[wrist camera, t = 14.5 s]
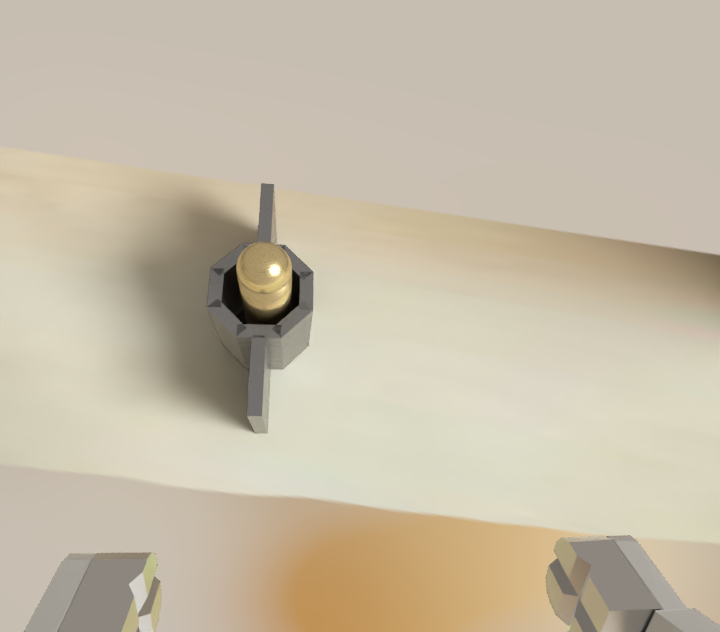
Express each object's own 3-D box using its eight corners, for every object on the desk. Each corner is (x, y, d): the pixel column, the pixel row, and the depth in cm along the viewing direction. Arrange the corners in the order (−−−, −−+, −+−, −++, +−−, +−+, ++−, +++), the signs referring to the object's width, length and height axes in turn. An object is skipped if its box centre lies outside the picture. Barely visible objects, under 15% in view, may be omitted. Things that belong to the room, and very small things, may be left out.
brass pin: (291, 310, 36) (293, 232, 26) (289, 349, 35) (291, 283, 24) (250, 308, 35) (236, 228, 25) (247, 347, 34) (230, 280, 24)
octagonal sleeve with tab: (310, 240, 38) (314, 187, 32) (306, 433, 33) (311, 416, 26) (231, 236, 37) (219, 180, 31) (214, 433, 32) (195, 416, 25)
